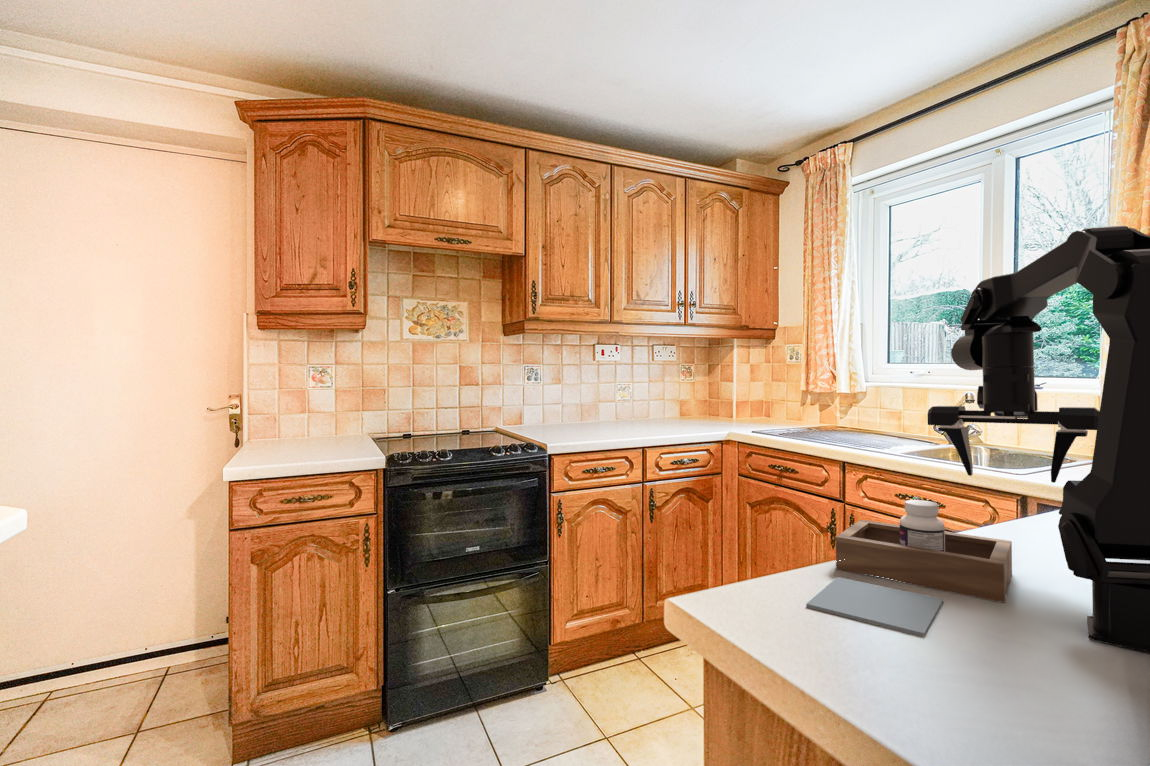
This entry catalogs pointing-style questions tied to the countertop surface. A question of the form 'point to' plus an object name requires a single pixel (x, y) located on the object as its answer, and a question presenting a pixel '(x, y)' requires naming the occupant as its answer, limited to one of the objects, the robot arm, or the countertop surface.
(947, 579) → the slot box
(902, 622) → the mat
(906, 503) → the pill bottle
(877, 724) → the countertop surface
